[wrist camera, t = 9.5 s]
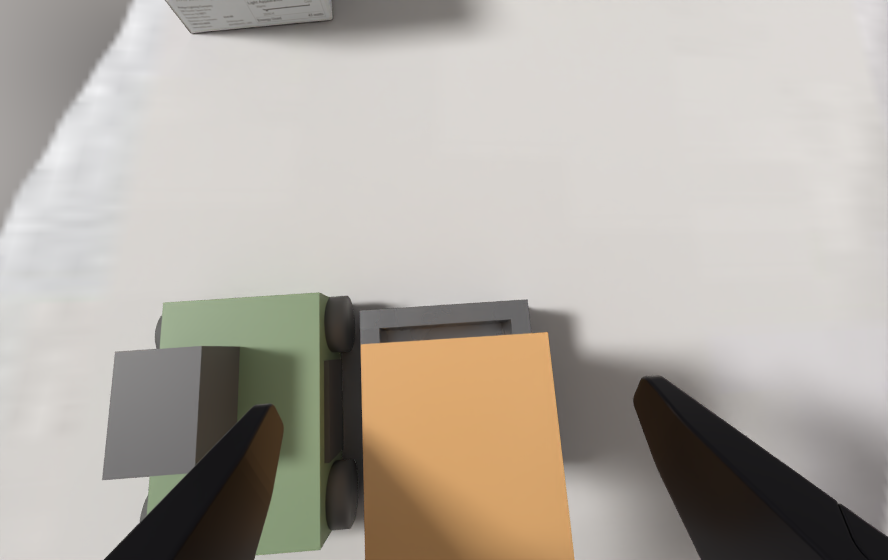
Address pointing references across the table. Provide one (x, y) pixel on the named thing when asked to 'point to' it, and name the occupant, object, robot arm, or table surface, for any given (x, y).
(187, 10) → the light bulb box
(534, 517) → the tan rectangular block
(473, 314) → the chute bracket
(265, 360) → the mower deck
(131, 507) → the table surface
